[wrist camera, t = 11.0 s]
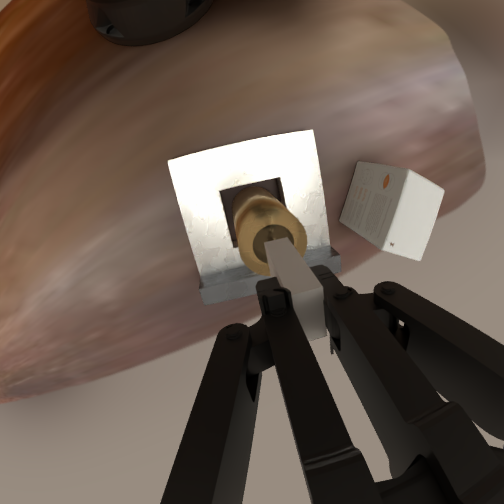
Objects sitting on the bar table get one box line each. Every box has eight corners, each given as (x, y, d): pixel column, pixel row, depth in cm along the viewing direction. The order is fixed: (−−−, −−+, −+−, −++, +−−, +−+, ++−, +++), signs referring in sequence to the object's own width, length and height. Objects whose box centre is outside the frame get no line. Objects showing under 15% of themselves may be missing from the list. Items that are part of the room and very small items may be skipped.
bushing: (237, 234, 32) (246, 283, 20) (227, 192, 30) (231, 219, 19) (279, 224, 32) (311, 267, 21) (271, 182, 30) (301, 203, 19)
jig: (171, 159, 28) (161, 162, 23) (305, 130, 28) (322, 128, 23) (206, 281, 33) (204, 305, 28) (324, 252, 34) (341, 271, 29)
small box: (372, 232, 33) (420, 264, 24) (337, 220, 32) (380, 252, 23) (391, 174, 31) (447, 190, 21) (356, 159, 30) (409, 168, 20)
